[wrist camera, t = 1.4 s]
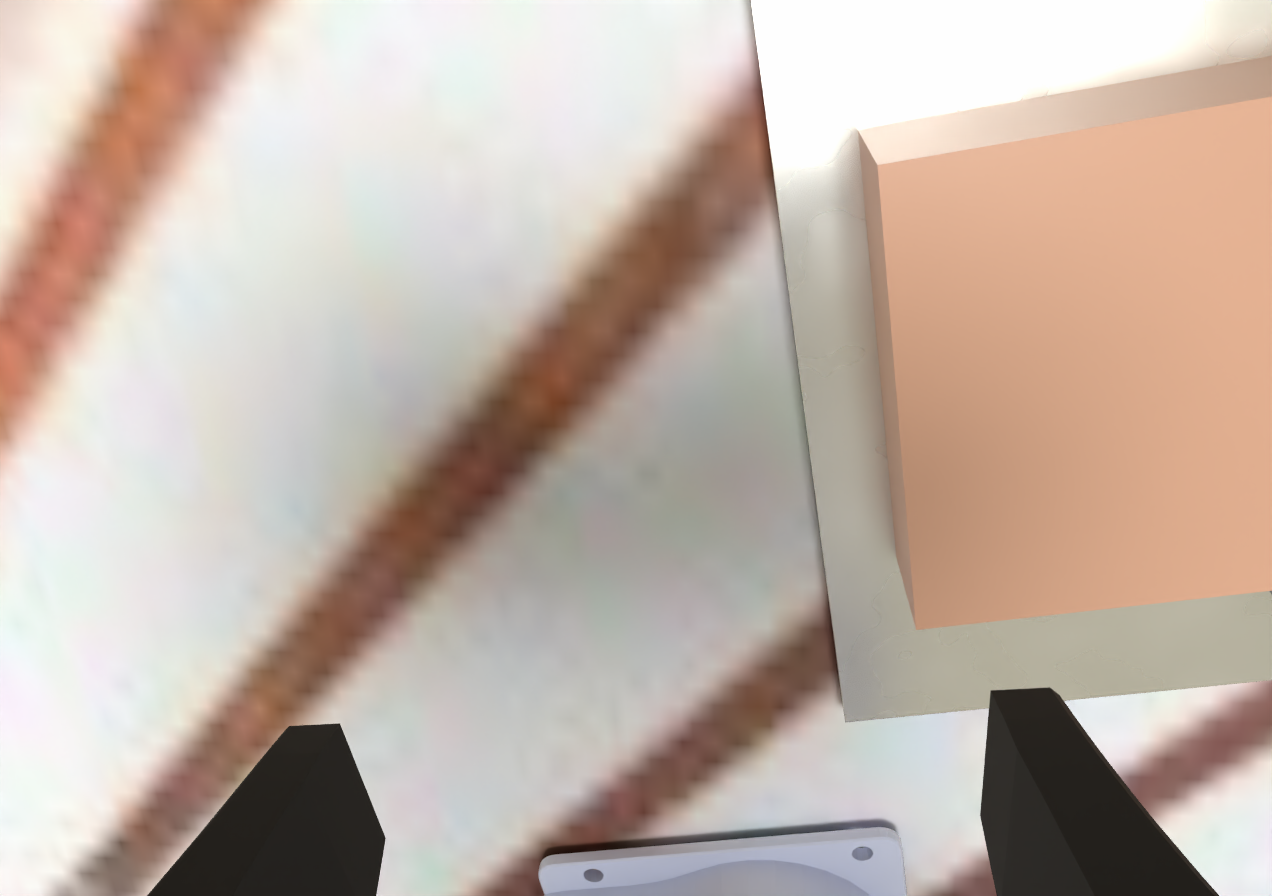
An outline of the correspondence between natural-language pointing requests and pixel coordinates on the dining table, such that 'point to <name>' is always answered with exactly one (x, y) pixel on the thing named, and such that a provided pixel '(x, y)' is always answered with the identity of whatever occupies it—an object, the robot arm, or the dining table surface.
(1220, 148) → the peach rectangular panel
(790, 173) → the dock
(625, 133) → the dining table surface
